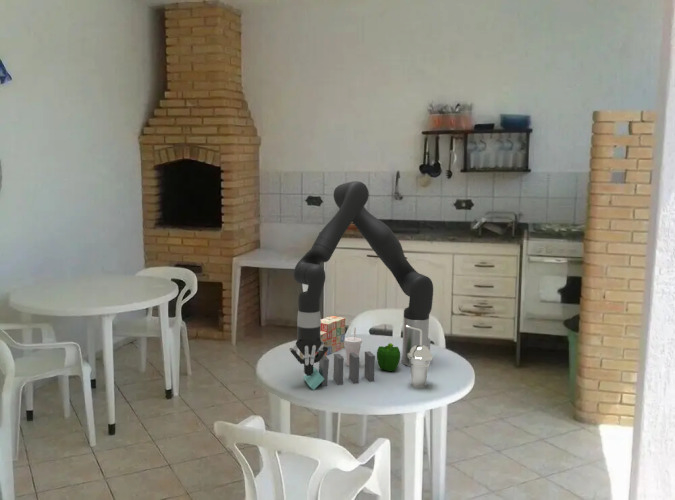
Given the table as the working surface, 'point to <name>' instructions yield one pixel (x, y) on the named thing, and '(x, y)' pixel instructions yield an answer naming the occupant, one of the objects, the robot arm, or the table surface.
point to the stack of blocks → (332, 334)
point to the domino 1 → (314, 379)
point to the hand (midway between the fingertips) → (308, 375)
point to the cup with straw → (419, 362)
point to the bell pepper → (388, 357)
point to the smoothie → (352, 345)
